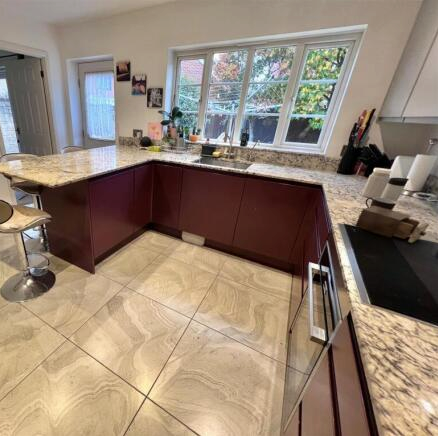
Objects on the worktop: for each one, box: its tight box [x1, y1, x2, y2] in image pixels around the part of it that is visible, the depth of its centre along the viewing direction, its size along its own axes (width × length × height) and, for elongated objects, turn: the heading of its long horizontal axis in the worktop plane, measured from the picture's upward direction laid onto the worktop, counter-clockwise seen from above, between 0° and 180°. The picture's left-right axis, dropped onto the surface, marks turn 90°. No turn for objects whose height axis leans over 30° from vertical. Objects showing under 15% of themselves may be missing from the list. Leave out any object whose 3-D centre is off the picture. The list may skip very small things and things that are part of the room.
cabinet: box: [354, 205, 411, 239], centre depth 104 cm, size 13×12×9 cm
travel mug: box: [381, 177, 410, 211], centre depth 118 cm, size 6×7×20 cm
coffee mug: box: [365, 197, 398, 210], centre depth 116 cm, size 12×9×10 cm
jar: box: [361, 167, 393, 199], centre depth 147 cm, size 10×10×18 cm
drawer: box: [393, 218, 430, 244], centre depth 98 cm, size 13×10×7 cm
